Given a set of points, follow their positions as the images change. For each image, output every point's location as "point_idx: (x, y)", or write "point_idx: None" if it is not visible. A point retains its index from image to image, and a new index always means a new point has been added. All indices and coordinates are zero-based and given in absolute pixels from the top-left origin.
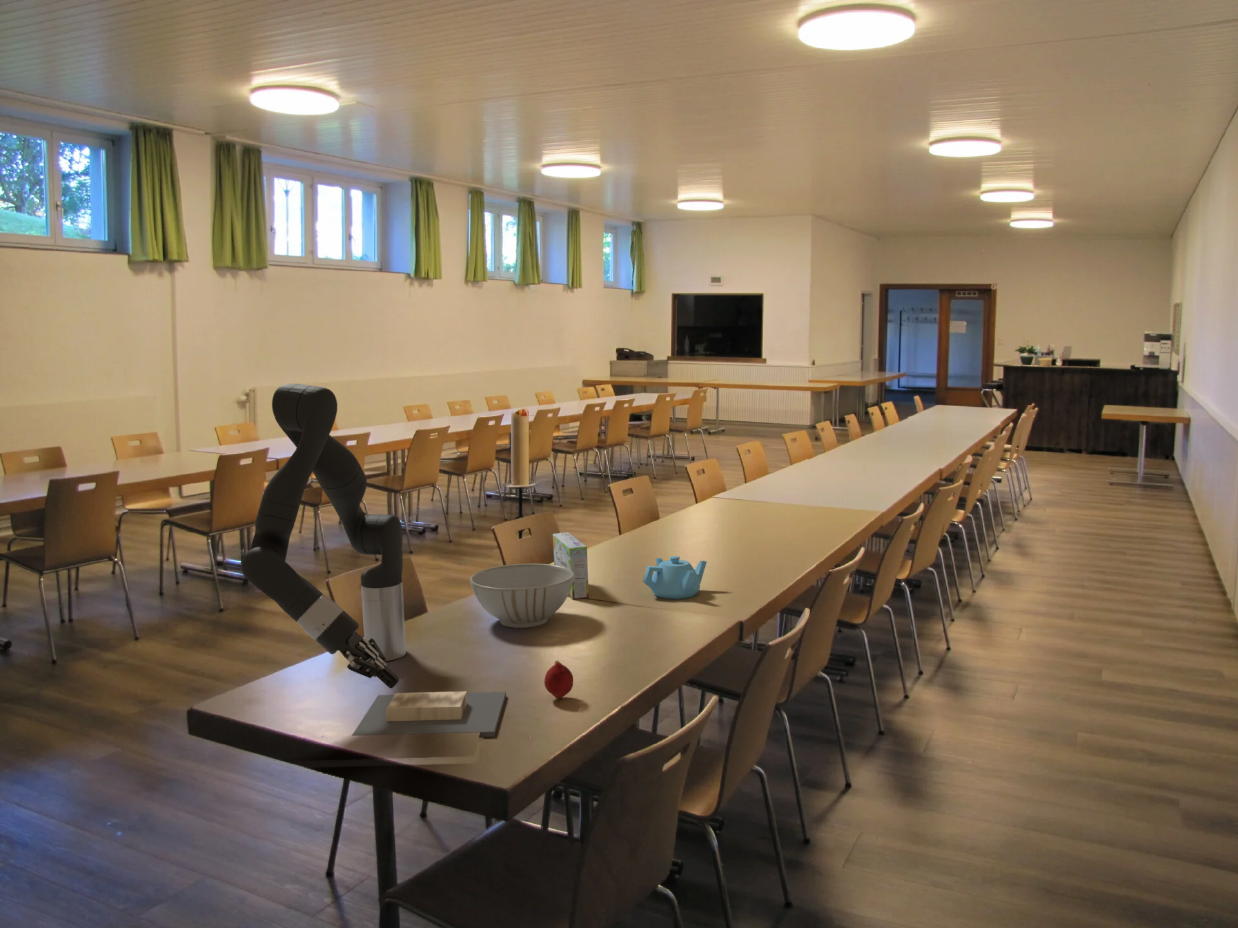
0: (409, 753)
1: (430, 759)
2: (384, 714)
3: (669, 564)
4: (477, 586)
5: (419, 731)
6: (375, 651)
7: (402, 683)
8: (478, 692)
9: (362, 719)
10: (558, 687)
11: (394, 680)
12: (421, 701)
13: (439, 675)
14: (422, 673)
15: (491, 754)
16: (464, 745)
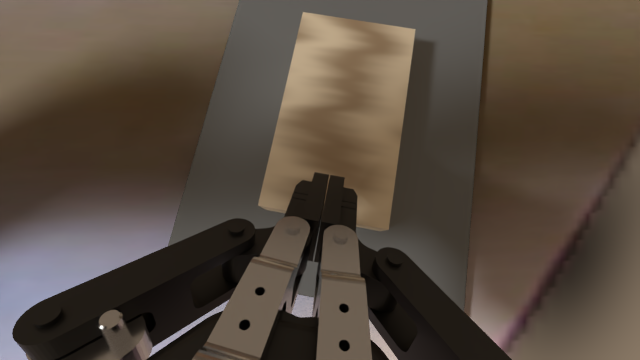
0: (552, 171)
1: (589, 126)
2: None
3: None
4: None
5: (463, 145)
6: (261, 281)
7: (63, 201)
8: (237, 11)
9: None
10: None
11: (343, 189)
12: (351, 127)
13: (44, 104)
14: (5, 148)
15: (571, 10)
16: (520, 57)
